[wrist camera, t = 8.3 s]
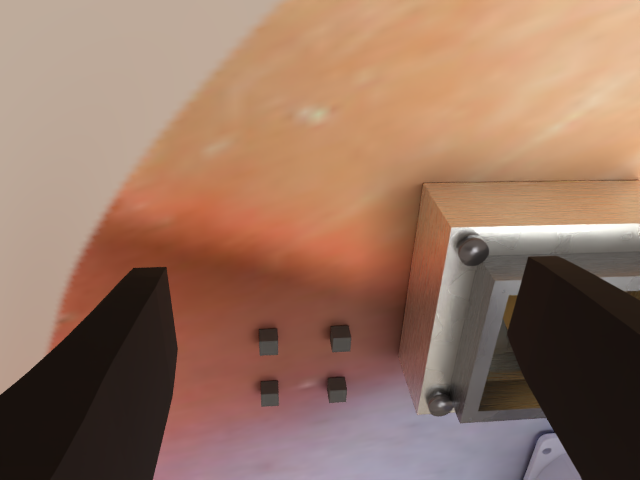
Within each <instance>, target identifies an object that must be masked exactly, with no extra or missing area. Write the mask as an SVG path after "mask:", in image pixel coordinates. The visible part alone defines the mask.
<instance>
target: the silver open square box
mask: <svg viewBox="0 0 640 480" xmlns="http://www.w3.org/2000/svg"><path fill="white" fill-rule="evenodd" d="M534 256H558V257H561V258H563V259H565V260H567V261H569V262H571V263H573V264H575V265H577V266H579V267H581V268H583V269H585V270H587V271H589V272H590V273H592V274H594V275H596V276H598V277H600V278H601V279H603V280H605V281H607V282H608V283H610V284H612V285H614V286H616V287H617V288H619V289H621V290H623V291H624V292H626V293H628V294H630V295H632V296H633V297H635V298H637V299H639V300H640V180H620V181H544V182H469V183H423V188H422V195H421V202H420V209H419V216H418V223H417V230H416V236H415V243H414V250H413V257H412V264H411V271H410V278H409V285H408V292H407V298H406V305H405V312H404V319H403V326H402V333H401V340H400V347H399V354H398V357H399V361H400V364H401V367H402V370H403V373H404V376H405V379H406V382H407V385H408V388H409V391H410V394H411V397H412V401H413V404H414V407H415V410H416V413H417V415H421V414H432V415H434V416H444V415H446V414H448V413H455V412H456V415H457V417H458V420H459V422H460V423H472V422H488V421H504V420H520V419H536V418H546V416H545V414H544V413H543V411H542V409H541V407H540V406H539V404H538V402H537V400H536V398H535V397H534V395H533V393H532V391H531V390H530V388H529V386H528V384H527V382H526V380H525V379H524V377H523V374H522V372H521V369H520V367H519V365H518V362H517V360H516V358H515V355H514V352H513V350H512V347H511V344H510V342H509V339H508V336H507V331H508V329H507V327H506V325H505V323H504V320H503V316H504V312H505V308H506V304H507V301H508V297H509V295H518V292H519V288H520V285H521V281H522V277H523V274H524V270H525V266H526V263H527V259H528V257H534Z"/></svg>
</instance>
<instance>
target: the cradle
mask: <svg viewBox="0 0 640 480" xmlns="http://www.w3.org/2000/svg"><path fill="white" fill-rule="evenodd" d="M330 342H331V348H332V352H347V351H350V347H351V334H350V330H349V326H331V335H330ZM259 348H260V356H262V355H278V332H277V329H259ZM327 391H328V398H329V403H335V402H346V395H347V387H346V382H345V377H342V378H328V388H327ZM264 406H279V397H278V381H264V382H261V407H264Z"/></svg>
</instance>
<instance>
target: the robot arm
mask: <svg viewBox="0 0 640 480" xmlns="http://www.w3.org/2000/svg"><path fill="white" fill-rule="evenodd" d="M507 336H508V339H509V342H510V344H511V347H512V350H513V352H514V355H515V358H516V360H517V362H518V365H519V367H520V369H521V372H522V374H523V377H524V379H525V380H526V382H527V384H528V386H529V388H530V390H531V391H532V393H533V395H534V397H535V398H536V400H537V402H538V404H539V406H540V407H541V409H542V411H543V413H544V414H545V416H546V418H547V420H548V421H549V423H550V425H551V426H552V428H553V430H554V432H555V433H550V434H544V435H542V436H541V437H539V439H538V441H537V444H536V446H535V449H534V452H533V455H532V457H531V460H530V463H529V466H528V468H527V471H526V474H525V477H524V479H523V480H640V300H639V299H637V298H635V297H633V296H632V295H630V294H628V293H626V292H624V291H623V290H621V289H619V288H617V287H616V286H614V285H612V284H610V283H608V282H607V281H605V280H603V279H601V278H600V277H598V276H596V275H594V274H592V273H590V272H589V271H587V270H585V269H583V268H581V267H579V266H577V265H575V264H573V263H571V262H569V261H567V260H565V259H563V258H561V257H558V256H534V257H528V259H527V263H526V266H525V270H524V274H523V277H522V281H521V285H520V288H519V292H518V295H517V299H516V303H515V306H514V310H513V313H512V317H511V321H510V324H509V328H508V331H507ZM177 350H178V348H177V341H176V333H175V326H174V319H173V312H172V304H171V297H170V290H169V283H168V275H167V268H166V267H152V268H133V269H132V270H131V271H130V272H129V273H128V274H127V275H126V276H125V277H124V278H123V279H122V280H121V281H120V282H119V283H118V284H117V285H116V286H115V287H114V289H113V290H112V291H111V292H110V293H109V294H108V295H107V296H106V297H105V298H104V299H103V300H102V301H101V302H100V303H99V304H98V305H97V307H96V308H95V309H94V310H93V311H92V312H91V313H90V314H89V315H88V316H87V317H86V318H85V319H84V320H83V321H82V322H81V323H80V324H79V325H78V326H77V327H76V328H75V329H74V330H73V331H72V332H71V333H70V334H69V335H68V336H67V337H66V338H65V339H64V340H63V341H62V342H61V343H60V344H58V345H57V346H56V347H55V348H54V349H53V350H52V351H51V352H50V353H49V354H47V355H46V356H45V357H44V358H43V359H42V360H41V361H40V362H39V363H38V364H36V365H35V366H34V367H33V368H32V369H31V370H30V371H29V372H28V373H26V374H25V375H24V376H23V377H22V378H21V379H19V380H18V381H17V382H16V383H15V384H13V385H12V386H11V387H10V388H8V389H7V390H6V391H5V392H3V393H2V394H1V395H0V480H153V476H154V472H155V468H156V464H157V459H158V455H159V451H160V447H161V443H162V439H163V435H164V430H165V426H166V422H167V417H168V413H169V409H170V405H171V400H172V396H173V387H174V379H175V370H176V360H177Z"/></svg>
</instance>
